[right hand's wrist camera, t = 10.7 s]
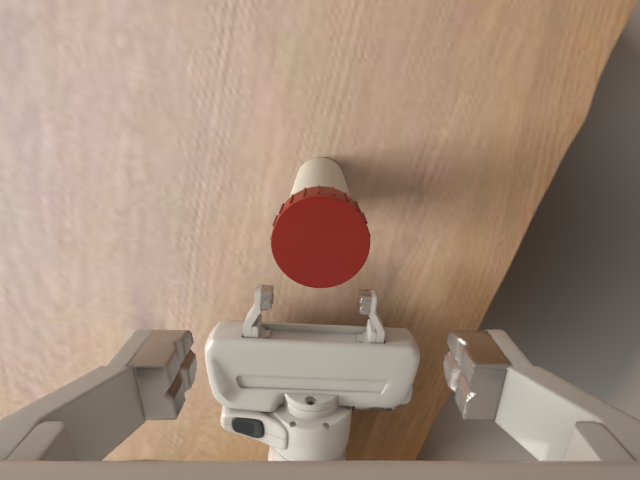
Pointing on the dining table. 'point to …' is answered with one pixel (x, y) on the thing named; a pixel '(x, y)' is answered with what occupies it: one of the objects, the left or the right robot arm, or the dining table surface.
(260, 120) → the dining table surface
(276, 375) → the left robot arm
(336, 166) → the bottle
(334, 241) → the lid
